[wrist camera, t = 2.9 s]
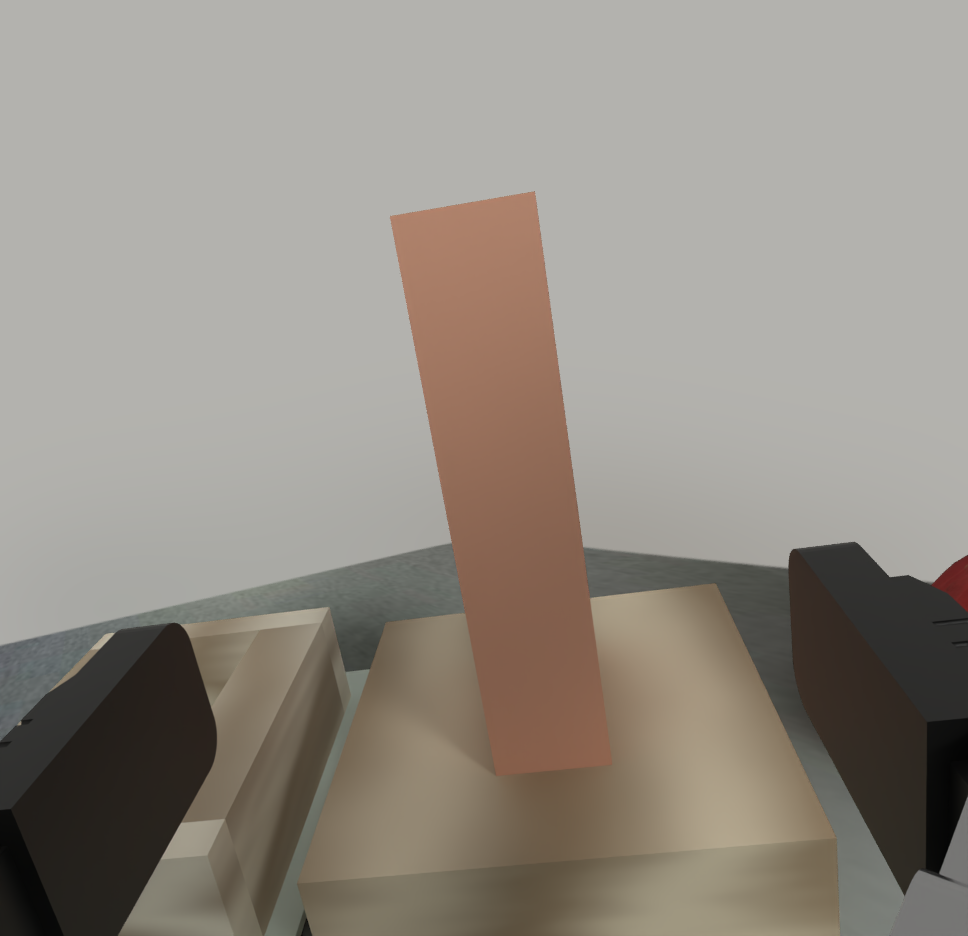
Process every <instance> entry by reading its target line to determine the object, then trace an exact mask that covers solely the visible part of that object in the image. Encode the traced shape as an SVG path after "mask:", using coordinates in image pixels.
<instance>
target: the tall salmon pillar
mask: <svg viewBox="0 0 968 936" xmlns="http://www.w3.org/2000/svg"><path fill="white" fill-rule="evenodd" d="M390 219H391V224H392V229H393V235H394V240H395V245H396V251H397V256H398V261H399V266H400V272H401V277H402V282H403V288H404V293H405V298H406V303H407V309H408V314H409V319H410V324H411V330H412V335H413V340H414V346H415V351H416V356H417V361H418V367H419V371H420V377H421V382H422V387H423V393H424V398H425V403H426V408H427V414H428V419H429V424H430V430H431V435H432V440H433V446H434V450H435V456H436V461H437V467H438V472H439V477H440V482H441V487H442V493H443V498H444V504H445V509H446V514H447V520H448V524H449V530H450V535H451V541H452V546H453V551H454V556H455V562H456V567H457V572H458V577H459V583H460V588H461V593H462V599H463V604H464V609H465V614H466V620H467V625H468V630H469V635H470V641H471V646H472V651H473V657H474V662H475V667H476V672H477V678H478V683H479V688H480V693H481V699H482V704H483V709H484V715H485V720H486V725H487V730H488V736H489V741H490V746H491V751H492V757H493V762H494V767H495V773H496V776H502V775H512V774H523V773H533V772H543V771H554V770H564V769H574V768H585V767H595V766H605V765H612V758H611V751H610V743H609V736H608V728H607V721H606V714H605V706H604V699H603V691H602V684H601V677H600V669H599V662H598V654H597V647H596V640H595V632H594V625H593V617H592V610H591V603H590V595H589V588H588V580H587V573H586V566H585V558H584V551H583V544H582V536H581V529H580V522H579V514H578V506H577V500H576V492H575V484H574V477H573V469H572V462H571V455H570V447H569V440H568V433H567V425H566V418H565V410H564V403H563V396H562V388H561V381H560V374H559V366H558V358H557V351H556V344H555V337H554V329H553V321H552V314H551V308H550V299H549V292H548V285H547V278H546V271H545V262H544V255H543V248H542V240H541V233H540V225H539V218H538V211H537V203H536V196H535V191H534V192H528V193H522V194H517V195H511V196H505V197H499V198H494V199H488V200H483V201H476V202H470V203H464V204H458V205H452V206H447V207H441V208H436V209H430V210H423V211H417V212H412V213H406V214H400V215H394V216H390Z"/></svg>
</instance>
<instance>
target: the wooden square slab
mask: <svg viewBox="0 0 968 936" xmlns="http://www.w3.org/2000/svg"><path fill="white" fill-rule="evenodd" d="M590 603H591V610H592V617H593V625H594V632H595V640H596V647H597V654H598V662H599V669H600V677H601V684H602V691H603V699H604V706H605V714H606V721H607V728H608V736H609V743H610V751H611V758H612V765H605V766H595V767H585V768H574V769H564V770H554V771H543V772H533V773H523V774H512V775H502V776H496V773H495V767H494V762H493V757H492V751H491V746H490V741H489V736H488V730H487V725H486V720H485V715H484V709H483V704H482V699H481V693H480V688H479V683H478V678H477V672H476V667H475V662H474V657H473V651H472V646H471V641H470V635H469V630H468V625H467V620H466V614H465V613H459V614H451V615H442V616H434V617H425V618H417V619H408V620H400V621H391V622H386V624H385V627H384V630H383V633H382V636H381V639H380V641H379V644H378V647H377V650H376V653H375V656H374V659H373V662H372V665H371V668H370V671H369V674H368V677H367V680H366V683H365V685H364V688H363V691H362V694H361V697H360V700H359V703H358V706H357V709H356V712H355V715H354V718H353V721H352V724H351V727H350V729H349V732H348V735H347V738H346V741H345V744H344V747H343V750H342V753H341V756H340V759H339V762H338V765H337V768H336V771H335V773H334V776H333V779H332V782H331V785H330V788H329V791H328V794H327V797H326V800H325V803H324V806H323V809H322V812H321V815H320V817H319V820H318V823H317V826H316V829H315V832H314V835H313V838H312V841H311V844H310V847H309V850H308V853H307V856H306V859H305V861H304V864H303V867H302V870H301V873H300V876H299V879H298V882H297V886H298V889H299V892H300V896H301V899H302V903H303V906H304V909H305V913H306V916H307V919H308V923H309V926H310V930H311V933H312V936H840V925H839V895H838V865H837V838H836V836H835V834H834V831H833V829H832V827H831V825H830V823H829V821H828V819H827V817H826V815H825V813H824V810H823V808H822V806H821V804H820V802H819V800H818V798H817V796H816V794H815V791H814V789H813V787H812V785H811V783H810V781H809V779H808V777H807V775H806V772H805V770H804V768H803V766H802V764H801V762H800V760H799V758H798V756H797V754H796V751H795V749H794V747H793V745H792V743H791V741H790V739H789V737H788V735H787V732H786V730H785V728H784V726H783V724H782V722H781V720H780V718H779V716H778V714H777V711H776V709H775V707H774V705H773V703H772V701H771V699H770V697H769V695H768V692H767V690H766V688H765V686H764V684H763V682H762V680H761V678H760V676H759V673H758V671H757V669H756V667H755V665H754V663H753V661H752V659H751V657H750V655H749V652H748V650H747V648H746V646H745V644H744V642H743V640H742V638H741V636H740V633H739V631H738V629H737V627H736V625H735V623H734V621H733V619H732V617H731V615H730V612H729V610H728V608H727V606H726V604H725V602H724V600H723V598H722V596H721V593H720V591H719V589H718V587H717V585H716V583H713V584H705V585H696V586H688V587H679V588H671V589H662V590H654V591H645V592H637V593H628V594H620V595H612V596H603V597H595V598H590Z"/></svg>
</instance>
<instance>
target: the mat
mask: <svg viewBox="0 0 968 936" xmlns="http://www.w3.org/2000/svg"><path fill="white" fill-rule="evenodd" d="M369 671H370V669H367V670H358V671H349V672H346V676H347V680H348V685H349V689H350V693H351V697H350V700H349V703H348V705H347V708H346V711H345V714H344V716H343V719H342V722H341V725H340V728H339V730H338V733H337V736H336V739H335V741H334V744H333V747H332V750H331V752H330V755H329V758H328V761H327V764H326V766H325V769H324V772H323V775H322V777H321V780H320V783H319V786H318V789H317V791H316V794H315V797H314V800H313V802H312V805H311V808H310V811H309V813H308V816H307V819H306V822H305V825H304V827H303V830H302V833H301V836H300V838H299V841H298V844H297V847H296V849H295V852H294V855H293V858H292V861H291V863H290V866H289V869H288V872H287V874H286V877H285V880H284V883H283V885H282V888H281V891H280V894H279V897H278V899H277V902H276V905H275V908H274V910H273V913H272V916H271V919H270V922H269V924H268V927H267V930H266V933H265V935H264V936H301V933H302V930H303V927H304V924H305V921H306V917H307V916H306V913H305V909H304V906H303V903H302V899H301V896H300V892H299V889H298V886H297V882H298V879H299V876H300V873H301V870H302V867H303V864H304V861H305V859H306V856H307V853H308V850H309V847H310V844H311V841H312V838H313V835H314V832H315V829H316V826H317V823H318V820H319V817H320V815H321V812H322V809H323V806H324V803H325V800H326V797H327V794H328V791H329V788H330V785H331V782H332V779H333V776H334V773H335V771H336V768H337V765H338V762H339V759H340V756H341V753H342V750H343V747H344V744H345V741H346V738H347V735H348V732H349V729H350V727H351V724H352V721H353V718H354V715H355V712H356V709H357V706H358V703H359V700H360V697H361V694H362V691H363V688H364V685H365V683H366V680H367V677H368V674H369Z"/></svg>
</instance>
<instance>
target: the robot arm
mask: <svg viewBox="0 0 968 936" xmlns="http://www.w3.org/2000/svg"><path fill="white" fill-rule="evenodd" d="M788 567H789V590H790V611H791V631H792V652H793V665H794V672H795V678H796V682H797V686H798V690H799V694H800V697H801V700H802V703H803V705H804V708H805V710H806V712H807V714H808V716H809V718H810V720H811V721H812V723H813V725H814V727H815V729H816V731H817V733H818V735H819V736H820V738H821V740H822V742H823V744H824V746H825V748H826V750H827V751H828V753H829V755H830V757H831V759H832V761H833V763H834V765H835V766H836V768H837V770H838V772H839V774H840V776H841V778H842V780H843V781H844V783H845V785H846V787H847V789H848V791H849V793H850V795H851V796H852V798H853V800H854V802H855V804H856V806H857V808H858V809H859V811H860V813H861V815H862V817H863V819H864V821H865V823H866V824H867V826H868V828H869V830H870V832H871V834H872V836H873V838H874V839H875V841H876V843H877V845H878V847H879V849H880V851H881V853H882V854H883V856H884V858H885V860H886V862H887V864H888V866H889V868H890V869H891V871H892V873H893V875H894V877H895V879H896V881H897V883H898V884H899V886H900V888H901V890H902V892H903V894H904V896H905V897H904V900H903V902H902V905H901V907H900V910H899V912H898V915H897V917H896V920H895V922H894V925H893V927H892V930H891V932H890V935H889V936H968V612H967V611H966V610H965V609H964V608H963V607H962V606H961V605H960V604H959V603H958V602H956V601H955V600H954V599H953V598H952V597H951V596H950V595H949V594H948V593H946V592H944V591H942V590H940V589H937V588H935V587H933V586H931V585H929V584H927V583H924V582H922V581H920V580H918V579H916V578H914V577H911V576H909V575H907V576H898V577H889V576H888V575H887V574H886V573H885V572H884V571H883V570H882V568H880V566H879V565H878V564H877V563H876V562H875V561H874V560H873V559H872V558H871V557H870V556H869V555H868V554H867V553H866V552H865V550H864V549H863V548H862V547H861V546H860V545H859V544H858V543H856V542H849V543H840V544H832V545H824V546H816V547H807V548H799V549H793V550H792V551H791V553H790V556H789V566H788ZM216 749H217V728H216V722H215V718H214V715H213V712H212V708H211V705H210V702H209V699H208V695H207V692H206V689H205V686H204V683H203V679H202V676H201V673H200V670H199V666H198V663H197V660H196V657H195V654H194V650H193V647H192V644H191V641H190V638H189V636H188V634H187V632H186V630H185V629H184V628H183V627H182V626H181V625H180V624H178V623H168V624H160V625H151V626H143V627H135V628H127V629H121V630H119V631H117V632H116V633H115V634H114V635H113V636H112V637H111V638H110V639H109V640H108V641H107V642H106V643H105V644H104V645H103V646H102V647H101V648H100V649H99V650H98V652H97V653H96V654H95V655H94V656H93V657H92V658H91V659H90V660H89V661H88V662H87V663H86V664H85V665H84V666H83V667H82V668H81V669H80V670H79V671H78V673H77V674H76V675H74V676H73V677H71V678H70V679H68V680H67V681H65V682H64V683H62V684H61V685H59V686H58V687H56V688H55V689H53V690H52V691H50V692H49V693H47V694H46V695H45V696H44V697H43V698H42V699H41V700H40V701H39V702H38V703H37V704H36V705H35V706H34V708H33V709H32V710H31V711H30V712H29V713H28V714H27V715H26V716H25V717H24V718H23V719H22V720H21V725H17V726H15V727H14V728H13V729H12V730H11V731H10V732H9V733H8V734H7V735H6V736H5V737H4V738H3V739H2V740H1V741H0V936H118V935H119V933H120V931H121V929H122V928H123V926H124V924H125V922H126V920H127V919H128V917H129V915H130V913H131V912H132V910H133V908H134V906H135V904H136V903H137V901H138V899H139V897H140V895H141V894H142V892H143V890H144V888H145V886H146V885H147V883H148V881H149V879H150V878H151V876H152V874H153V872H154V870H155V869H156V867H157V865H158V863H159V861H160V860H161V858H162V856H163V854H164V852H165V851H166V849H167V847H168V845H169V843H170V842H171V840H172V838H173V836H174V835H175V833H176V831H177V829H178V827H179V826H180V824H181V822H182V820H183V818H184V817H185V815H186V813H187V811H188V809H189V808H190V806H191V804H192V802H193V801H194V799H195V797H196V795H197V793H198V792H199V790H200V788H201V786H202V784H203V783H204V781H205V779H206V777H207V775H208V774H209V772H210V770H211V768H212V766H213V763H214V759H215V755H216Z"/></svg>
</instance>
